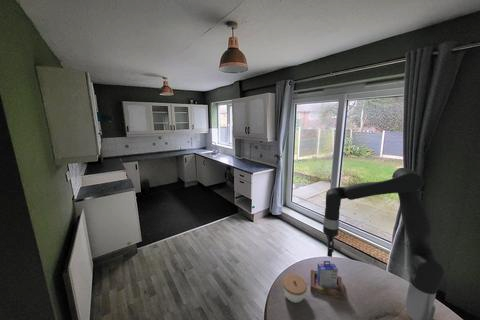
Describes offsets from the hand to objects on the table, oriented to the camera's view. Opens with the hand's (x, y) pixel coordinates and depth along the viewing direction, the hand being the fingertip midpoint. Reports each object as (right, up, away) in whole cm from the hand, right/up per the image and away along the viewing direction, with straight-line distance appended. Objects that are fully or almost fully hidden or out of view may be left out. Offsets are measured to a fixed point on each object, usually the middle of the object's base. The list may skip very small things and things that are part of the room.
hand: (328, 251), depth 106 cm
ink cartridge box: (+1, -22, +5) cm, 23 cm away
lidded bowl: (-20, -25, -1) cm, 32 cm away
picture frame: (+1, -23, +5) cm, 24 cm away
